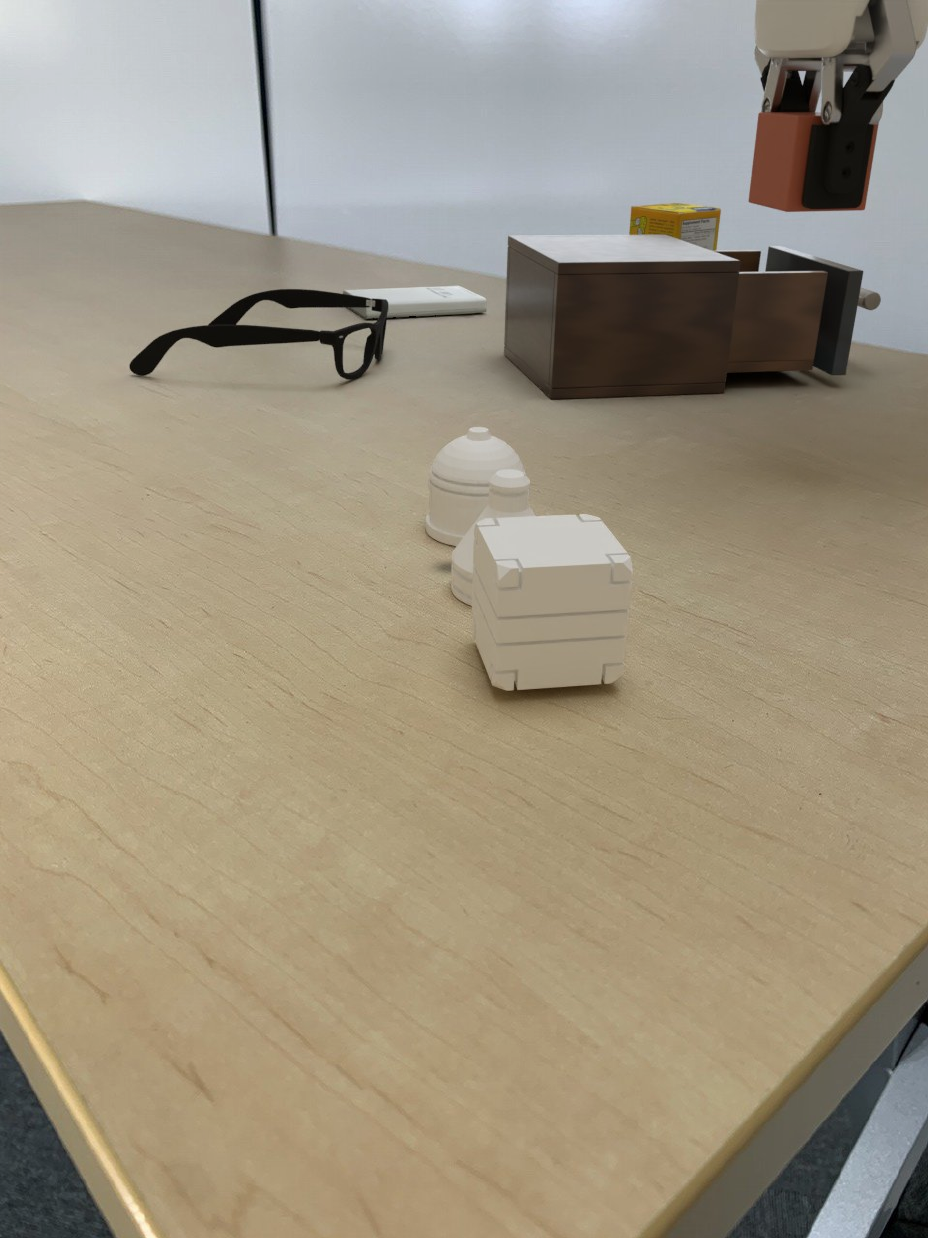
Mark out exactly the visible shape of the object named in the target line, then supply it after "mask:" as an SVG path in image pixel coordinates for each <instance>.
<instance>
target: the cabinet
mask: <svg viewBox="0 0 928 1238" xmlns="http://www.w3.org/2000/svg"><path fill="white" fill-rule="evenodd" d="M740 264H741V261H740V260H737V259H734V258H731V257H728V256H725V255H723V254H720V253H717V252H714V251H711V250H708V249H705V248H703V247H700V246H697V245H694V244H691V243H688V242H685V241H683V240H680V239H677V238H674V237H671V236H668V235H629V234H559V235H558V234H555V235H554V234H550V235H549V234H547V235H545V234H543V235H535V234H534V235H532V234H531V235H529V234H528V235H508V236H507V256H506V285H505V311H504V313H505V314H504V336H503V337H504V338H503V339H504V341H503V345H504V346H503V355H504V356H505V357H506V358H507V359H508V360H509V361H510V362H511V363H513V365H514V366H516V368H518V369H519V370H520V371H521V373H523V374H524V375H525V376H526V377H527V378H528V379H530V381H532V382H533V383H534V385H536V386H537V387H538V388H539V389H540V390H541V391H542V392H543V393H544V394H545V395H546V396H547V397H549V398H550V400H566V399H567V400H568V399H594V398H620V397H622V398H623V397H624V398H625V397H647V396H648V397H649V396H651V397H652V396H677V395H679V396H680V395H704V394H707V395H708V394H725V390H726V382H727V376H728V375H727V374H728V373H727V368H728V360H729V352H730V344H731V336H732V328H733V320H734V312H735V304H736V296H737V288H738V280H739V271H740Z"/></svg>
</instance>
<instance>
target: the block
mask: <svg viewBox="0 0 928 1238" xmlns="http://www.w3.org/2000/svg"><path fill="white" fill-rule="evenodd" d="M812 125H823V123H822V121H821V111H815V112H761V111H760V112H758V114H757V124H756V132H755V141H754V149H753V158H752V165H751V166H752V167H751V176H750V182H749V183H750V184H749V194H748V203H750V204H753V205H757V206H762V207H764V208H765V207H766V208H770V209H773V210H778V211H781V212H786V213H802V212H804V213H805V212H846V211H847V212H849V211H851V212H854V211H865V209H866V205H867V199H868V192H869V186H870V182H871V181H870V179H871V174H872V168H873V162H874V156H875V155H874V154H875V149H876V143H877V136H878V131H879V125H880V121H879V122H878V124H876V125H874V130H873V136H872V142H871V149H870V155H869V161H868V168H867V174H866V180H865V187H864V193H863V199H862V203H861V205H860V206H859V207H857V208H848V209H808V208H805V207H804V206H803V205H802V194H803V186H804V179H805V171H806V164H807V157H808V149H809V142H810V134H811V127H812Z"/></svg>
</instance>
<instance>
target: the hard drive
mask: <svg viewBox="0 0 928 1238" xmlns="http://www.w3.org/2000/svg"><path fill="white" fill-rule="evenodd" d="M342 294H347V295H354V296H360V297H366V298H370V299H372V298H374V299H386V300H387V301H388V313H387V319H392V318H393V317H396V318H410V317H409V316H416V317H433V316H434V317H435V315H436V316H451V315H452V316H453V315H471V314H483V313H486V312H487V307H488V300H487V299H486V297H484V296H482V295H480V294H477V293H476V292H473V291H471V290H469V289H467V288H465V287H462V286H460V285H447V286H444V285H443V286H418V287H417V286H414V287H391V288H390V287H389V288H387V287H386V288H364V289H363V288H362V289H360V288H359V289H343V291H342ZM350 309H351V310H350ZM350 309H349V310H350V311H352V310H353V311H352V312H354V314H357V315H358V314H359V315H358V316H360V317H361V318H363V319H364V320H371V319H372V320H373V318H374V319H378V318H379V316H380V314H381V312H378V311H372V306H371V307H368V308H350Z"/></svg>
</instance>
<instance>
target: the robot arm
mask: <svg viewBox="0 0 928 1238" xmlns="http://www.w3.org/2000/svg"><path fill="white" fill-rule="evenodd" d="M753 32H754V33H753V34H754V36H753V37H754V38H753V39H754V44H755V48H754V51H753V57H754V62H755V64H756V67H757V69H758V71H759V74H760V82H761V87H762V90H763V96H762V101H761V106H760V112H817V108H818V104H819V99H820V112H821V121H822V123H823V125H812V127H811V134H810V142H809V149H808V157H807V164H806V171H805V179H804V186H803V194H802V205H803V206H804V207H805V208H808V209H848V208H857V207H859V206H860V205H861V203H862V199H863V193H864V187H865V180H866V174H867V168H868V161H869V155H870V149H871V142H872V136H873V130H874V125H876V124H878V122H879V123H880V121H881V119H882V116H883V113H884V112H883V111H884V101H885V99H886V98H887V96H888V95H889V93H890V92H891V90H892V89H893V86H894V84H895V82H896V79H898V77H899V76H900V75H901V73H902V72H904V70H905V68H907V66H908V65H909V64H911V61H912V60H913V59H914V57H915V56H916V52H917V50H919V48H920V47H921V46H922V45H923V43H924V42H925V39H926V36H927V32H928V0H755V12H754V31H753ZM800 72H805V75H804V78H803V81H802V78H801V75H800ZM845 72H846V73H847V72H849V73H850V72H851V74H850V75H849V77H848V79H847V81H846V83H845V84H844V73H845Z"/></svg>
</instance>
